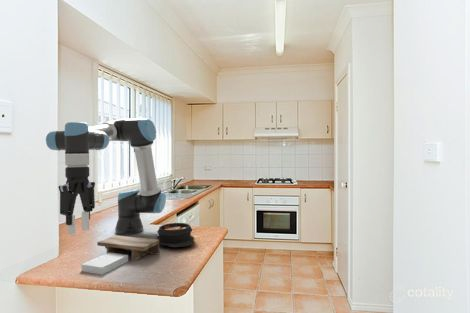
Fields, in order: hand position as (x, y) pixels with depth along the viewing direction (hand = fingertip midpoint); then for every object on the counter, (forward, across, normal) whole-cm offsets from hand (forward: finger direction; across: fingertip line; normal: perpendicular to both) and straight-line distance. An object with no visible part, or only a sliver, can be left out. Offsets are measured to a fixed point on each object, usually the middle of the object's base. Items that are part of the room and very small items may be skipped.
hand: (78, 231), depth 105 cm
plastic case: (+17, -12, 0) cm, 21 cm away
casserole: (+17, -46, +11) cm, 51 cm away
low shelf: (+17, -26, 0) cm, 31 cm away
